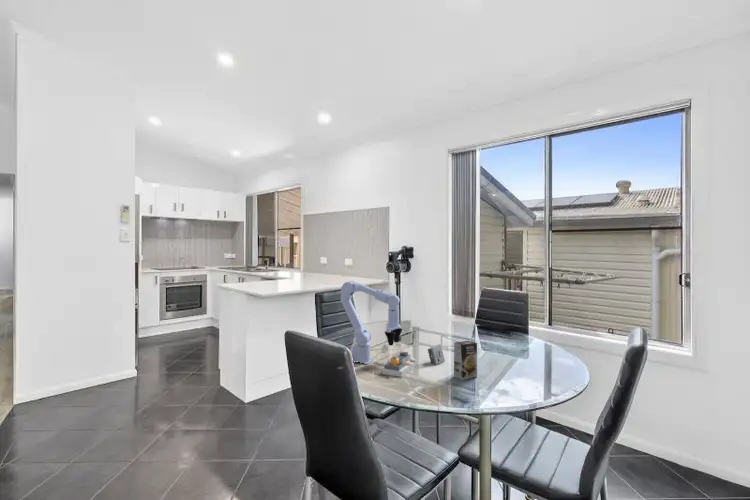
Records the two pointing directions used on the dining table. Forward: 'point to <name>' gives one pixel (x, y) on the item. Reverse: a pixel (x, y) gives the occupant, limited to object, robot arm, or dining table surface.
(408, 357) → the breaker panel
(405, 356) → the block
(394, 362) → the cap
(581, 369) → the dining table surface
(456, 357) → the coffee box
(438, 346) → the electrical switch
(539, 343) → the dining table surface
